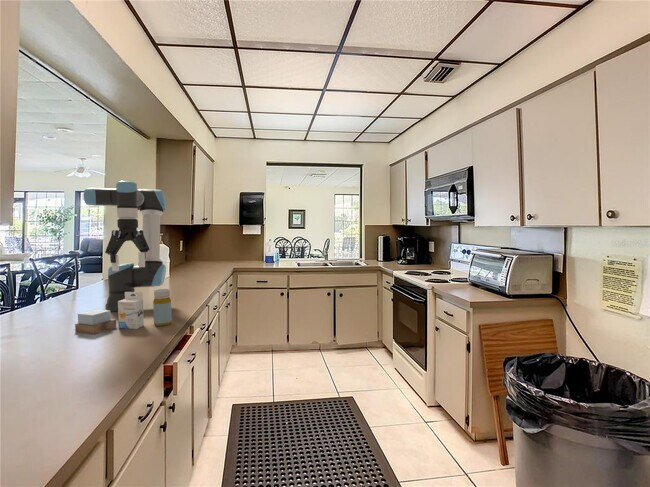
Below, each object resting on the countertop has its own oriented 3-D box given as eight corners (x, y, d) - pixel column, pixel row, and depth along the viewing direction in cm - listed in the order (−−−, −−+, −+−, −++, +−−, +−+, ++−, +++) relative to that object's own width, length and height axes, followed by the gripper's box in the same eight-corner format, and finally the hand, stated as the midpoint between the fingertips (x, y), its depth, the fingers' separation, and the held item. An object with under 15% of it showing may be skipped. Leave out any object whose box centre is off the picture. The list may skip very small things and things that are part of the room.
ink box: (117, 328, 143) (116, 294, 142) (125, 325, 148) (124, 291, 147) (137, 329, 142) (136, 294, 141) (144, 325, 147) (143, 291, 146)
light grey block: (96, 318, 146) (96, 309, 145) (110, 319, 143) (110, 310, 143) (78, 323, 138) (77, 313, 138) (92, 325, 136) (92, 315, 135)
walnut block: (98, 326, 147) (97, 317, 147) (116, 328, 145) (115, 319, 144) (75, 333, 138) (75, 323, 138) (94, 335, 135) (94, 325, 135)
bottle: (151, 324, 149) (150, 290, 148) (167, 321, 154) (166, 288, 153) (157, 327, 144) (156, 292, 143) (174, 324, 149) (173, 290, 148)
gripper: (143, 219, 155) (145, 265, 156) (93, 218, 131) (95, 272, 132) (157, 219, 153) (158, 265, 154) (108, 217, 129) (110, 273, 130)
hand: (129, 269), depth 143 cm, fingers open, 13 cm apart
